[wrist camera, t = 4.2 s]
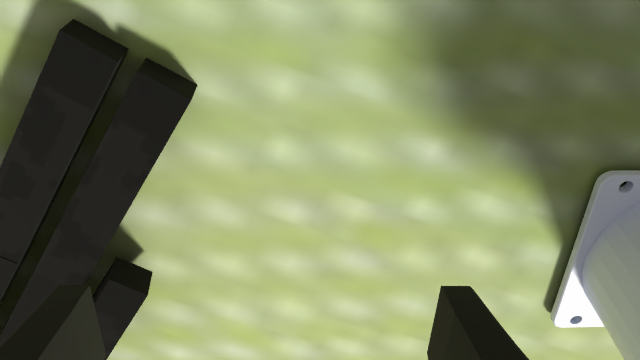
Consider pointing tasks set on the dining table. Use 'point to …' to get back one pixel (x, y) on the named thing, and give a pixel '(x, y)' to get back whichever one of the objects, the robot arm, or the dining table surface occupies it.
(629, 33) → the dining table surface
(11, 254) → the toy
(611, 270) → the robot arm
